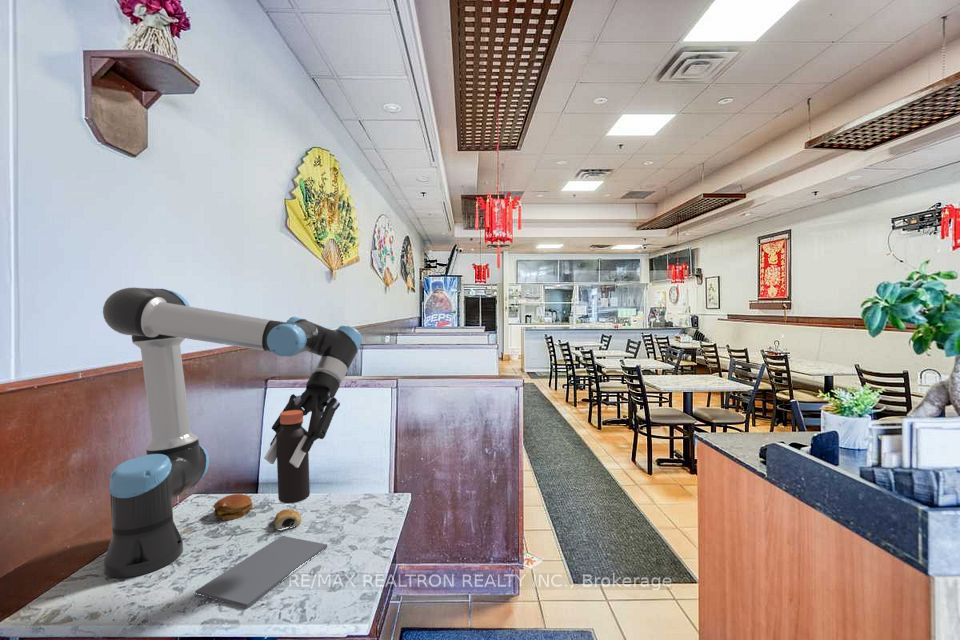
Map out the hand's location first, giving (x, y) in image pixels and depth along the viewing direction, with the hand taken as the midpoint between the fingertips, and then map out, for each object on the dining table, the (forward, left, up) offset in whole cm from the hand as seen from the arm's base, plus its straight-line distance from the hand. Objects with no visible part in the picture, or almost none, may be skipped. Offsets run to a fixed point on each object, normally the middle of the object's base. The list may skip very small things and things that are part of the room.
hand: (281, 462), depth 104 cm
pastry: (-16, +18, -25) cm, 34 cm away
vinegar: (0, +4, -10) cm, 10 cm away
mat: (-4, -1, -24) cm, 25 cm away
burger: (-36, +18, -24) cm, 47 cm away
